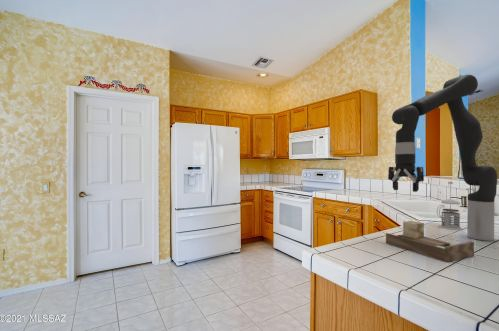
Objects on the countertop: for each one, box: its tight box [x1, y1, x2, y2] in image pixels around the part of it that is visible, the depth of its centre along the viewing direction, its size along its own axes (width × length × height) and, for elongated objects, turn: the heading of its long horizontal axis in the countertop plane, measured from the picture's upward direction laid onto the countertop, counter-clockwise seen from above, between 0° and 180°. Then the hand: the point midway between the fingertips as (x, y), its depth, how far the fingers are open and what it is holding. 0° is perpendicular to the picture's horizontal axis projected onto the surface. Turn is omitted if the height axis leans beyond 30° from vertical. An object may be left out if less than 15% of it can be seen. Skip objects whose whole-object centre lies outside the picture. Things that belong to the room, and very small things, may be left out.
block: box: [402, 220, 425, 239], centre depth 112 cm, size 6×6×6 cm
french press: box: [436, 181, 463, 231], centre depth 139 cm, size 10×12×25 cm
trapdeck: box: [385, 232, 475, 263], centre depth 103 cm, size 16×24×5 cm, turn 24°
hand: (405, 190), depth 111 cm, fingers open, 8 cm apart
